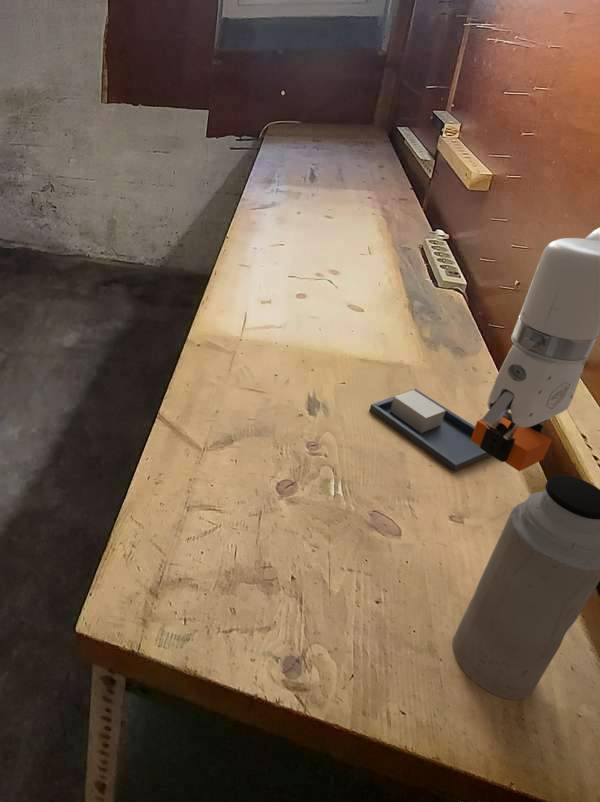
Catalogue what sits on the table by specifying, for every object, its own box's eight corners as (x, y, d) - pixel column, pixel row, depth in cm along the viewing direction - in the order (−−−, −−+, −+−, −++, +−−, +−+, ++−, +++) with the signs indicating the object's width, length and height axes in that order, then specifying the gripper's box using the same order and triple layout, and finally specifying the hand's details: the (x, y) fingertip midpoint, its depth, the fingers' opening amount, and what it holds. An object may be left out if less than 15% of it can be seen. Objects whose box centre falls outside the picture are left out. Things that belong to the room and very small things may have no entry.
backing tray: (412, 396, 110) (415, 388, 109) (500, 453, 96) (503, 444, 95) (368, 412, 106) (370, 404, 105) (452, 474, 92) (456, 465, 91)
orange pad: (493, 429, 81) (500, 410, 79) (543, 459, 76) (552, 439, 74) (470, 440, 79) (477, 420, 78) (519, 471, 74) (528, 451, 72)
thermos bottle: (530, 649, 68) (626, 480, 55) (538, 715, 62) (648, 541, 49) (451, 616, 71) (525, 451, 59) (452, 675, 65) (534, 504, 53)
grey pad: (408, 404, 107) (413, 389, 106) (440, 425, 102) (446, 410, 100) (389, 411, 106) (393, 396, 104) (421, 433, 100) (426, 418, 99)
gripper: (542, 371, 63) (493, 488, 71) (629, 335, 69) (575, 446, 77) (475, 338, 70) (437, 449, 78) (560, 307, 75) (517, 414, 83)
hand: (506, 447), depth 77 cm, fingers closed on orange pad, 5 cm apart
